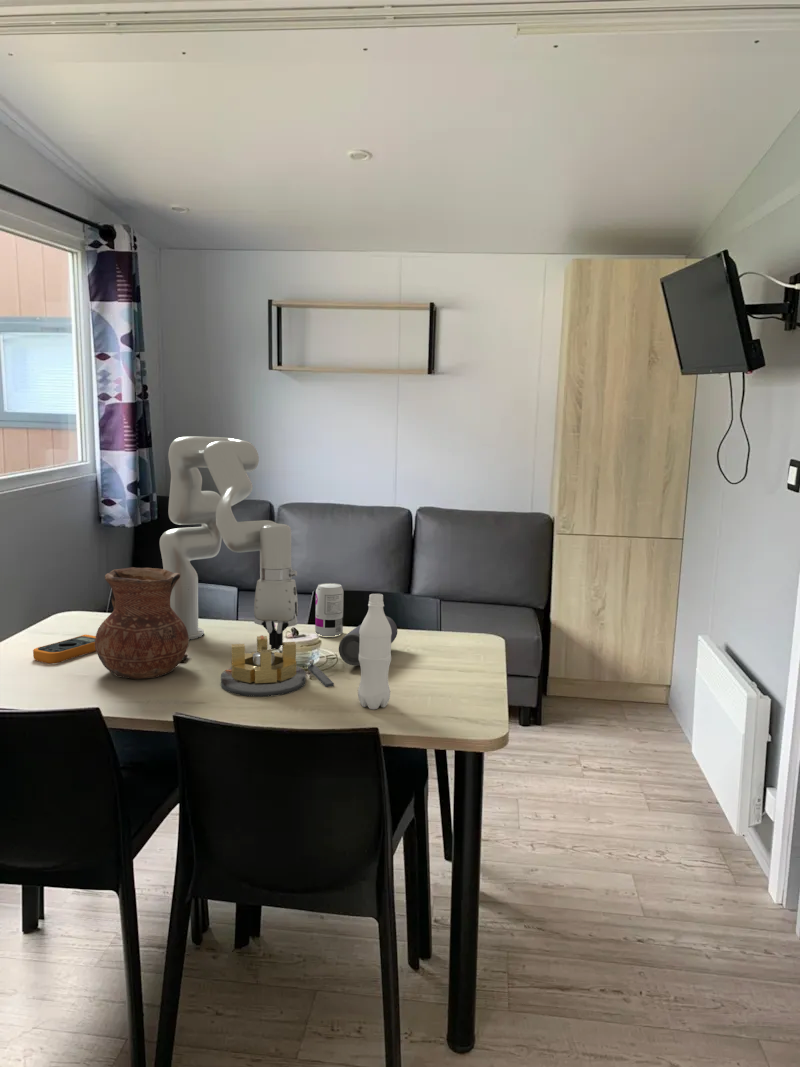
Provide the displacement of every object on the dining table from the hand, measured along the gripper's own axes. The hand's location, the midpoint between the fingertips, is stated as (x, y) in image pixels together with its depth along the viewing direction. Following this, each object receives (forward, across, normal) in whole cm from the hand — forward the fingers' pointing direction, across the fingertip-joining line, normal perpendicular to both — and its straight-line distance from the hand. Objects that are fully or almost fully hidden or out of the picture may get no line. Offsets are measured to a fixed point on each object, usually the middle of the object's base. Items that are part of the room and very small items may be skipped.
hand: (275, 647), depth 187 cm
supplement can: (+7, -4, -41) cm, 42 cm away
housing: (+7, +1, +6) cm, 9 cm away
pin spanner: (+8, -11, -1) cm, 13 cm away
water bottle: (+8, -27, +16) cm, 33 cm away
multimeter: (+7, +58, -6) cm, 59 cm away
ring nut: (+5, +1, +6) cm, 8 cm away
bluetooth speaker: (+7, -20, -19) cm, 29 cm away
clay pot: (+7, +33, +4) cm, 34 cm away
